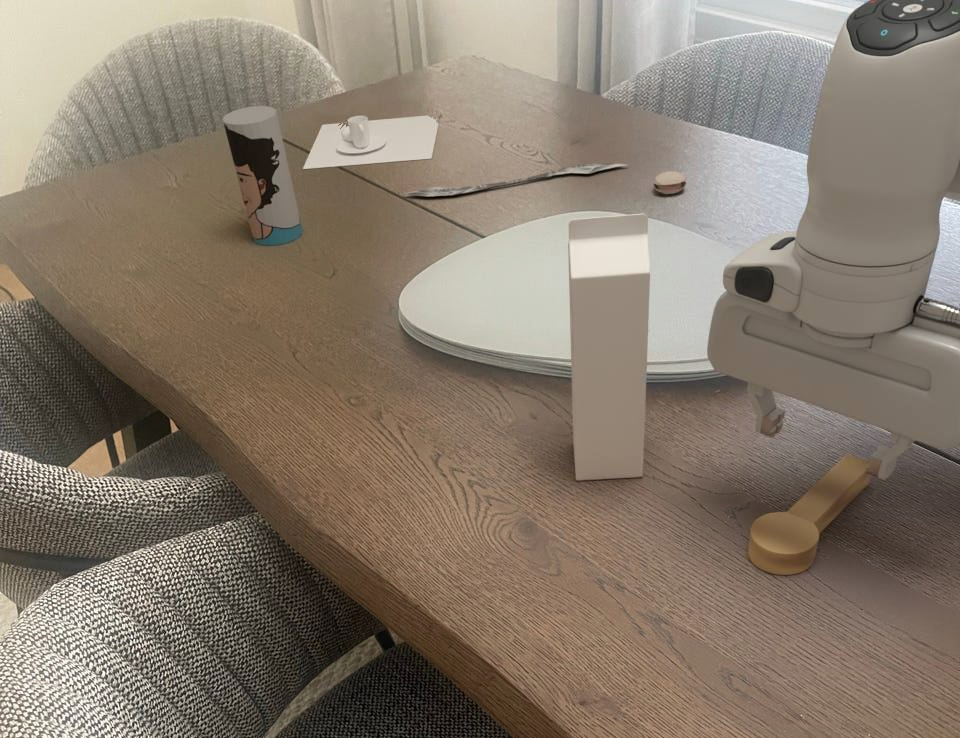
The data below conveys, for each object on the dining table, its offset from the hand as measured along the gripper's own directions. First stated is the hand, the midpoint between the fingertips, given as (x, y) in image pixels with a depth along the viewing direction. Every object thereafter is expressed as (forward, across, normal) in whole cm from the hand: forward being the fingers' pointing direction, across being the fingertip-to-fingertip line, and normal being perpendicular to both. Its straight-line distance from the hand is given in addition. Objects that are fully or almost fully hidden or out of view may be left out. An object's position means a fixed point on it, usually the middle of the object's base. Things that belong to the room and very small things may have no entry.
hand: (822, 452), depth 75 cm
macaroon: (+7, +50, -51) cm, 72 cm away
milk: (+7, +19, +3) cm, 20 cm away
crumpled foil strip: (+7, +70, -43) cm, 82 cm away
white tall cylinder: (+7, +87, -13) cm, 88 cm away
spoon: (+7, 0, 0) cm, 7 cm away
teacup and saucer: (+7, +102, -45) cm, 111 cm away
